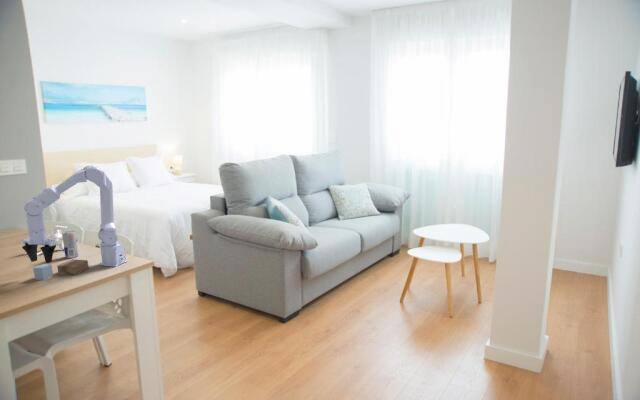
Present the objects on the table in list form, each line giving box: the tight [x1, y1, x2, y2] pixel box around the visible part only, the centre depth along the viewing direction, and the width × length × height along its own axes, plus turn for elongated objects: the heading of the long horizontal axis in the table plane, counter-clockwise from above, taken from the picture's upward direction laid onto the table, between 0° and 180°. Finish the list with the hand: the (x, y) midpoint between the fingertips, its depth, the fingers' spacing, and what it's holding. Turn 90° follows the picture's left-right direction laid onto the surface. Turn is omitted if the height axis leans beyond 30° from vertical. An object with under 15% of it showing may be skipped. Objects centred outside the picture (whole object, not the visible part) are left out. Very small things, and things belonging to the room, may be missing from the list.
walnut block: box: [56, 258, 89, 276], centre depth 183 cm, size 8×8×4 cm
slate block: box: [33, 263, 54, 281], centre depth 176 cm, size 4×4×5 cm
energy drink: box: [61, 230, 79, 259], centre depth 202 cm, size 5×5×12 cm
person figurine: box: [26, 225, 69, 256], centre depth 212 cm, size 13×13×18 cm
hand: (41, 261), depth 175 cm, fingers open, 7 cm apart
